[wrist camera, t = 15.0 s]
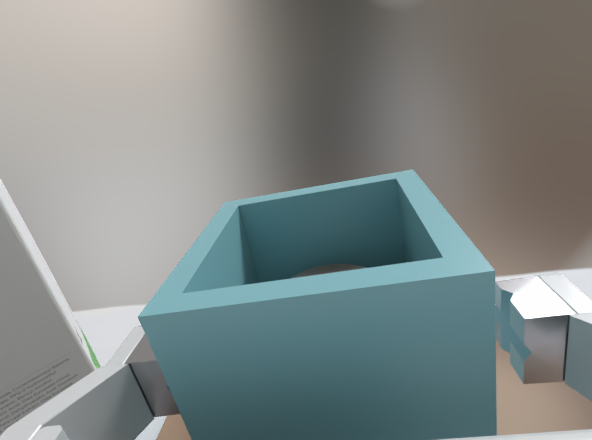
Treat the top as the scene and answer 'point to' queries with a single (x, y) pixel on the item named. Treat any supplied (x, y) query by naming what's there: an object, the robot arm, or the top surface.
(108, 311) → the top surface
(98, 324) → the top surface
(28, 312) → the skincare box
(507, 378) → the base
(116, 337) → the top surface
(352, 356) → the teal pencil cup
